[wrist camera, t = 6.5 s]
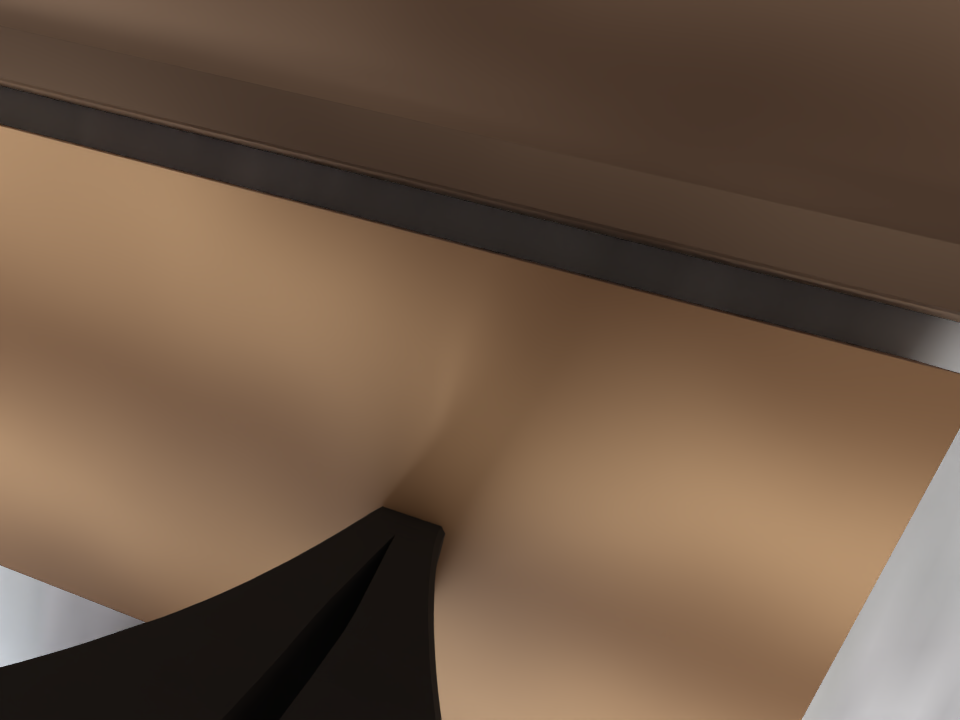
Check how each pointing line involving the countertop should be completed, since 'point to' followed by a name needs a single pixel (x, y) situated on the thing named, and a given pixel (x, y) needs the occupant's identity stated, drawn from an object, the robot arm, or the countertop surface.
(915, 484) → the teak plank
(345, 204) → the countertop surface
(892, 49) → the walnut board
